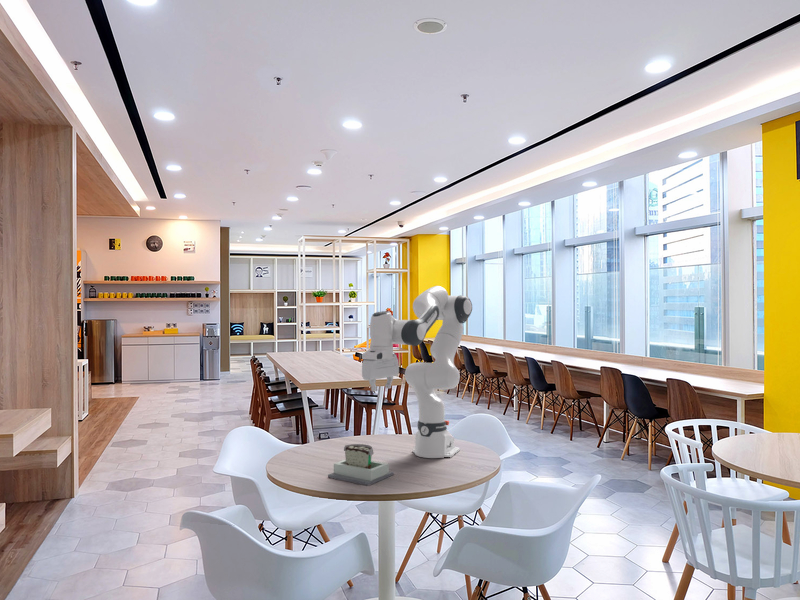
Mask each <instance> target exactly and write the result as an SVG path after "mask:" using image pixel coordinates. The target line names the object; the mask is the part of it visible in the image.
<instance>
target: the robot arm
mask: <svg viewBox="0 0 800 600" xmlns="http://www.w3.org/2000/svg"><path fill="white" fill-rule="evenodd" d="M412 309H413V312H414V315H415V316H416V317H417V319H398V318H395V317H394V316H392V313H391V312H390V311H388V310H387V311H386V310H385V311H376V312H374V313H373V314H371V316H370V325H369V336H370V344H369V348H368V350H366V351H364V352H362V354H361V359H362V363H361V377H362V379H363V380H364V381H369V382H368V383H369V385H370V391H371V392H375V393H376V392H377V391H378V386H377V385H376V383H377V380H380V379H386V383H385V389H391V388H392V383H393V380H394V377H397V376H398V375H399V373H400V367H399V363H400V362H399V358H398V357H397V354H396V352H394V345H404V346H405V345H407V346H412V347H413V346H414V347H416V346H419V345H420V344H422V342H423V341H424V340H425V338H426V335H427V333H428V332H429V331H430V329H431V328H432V327H433V325H435V323H436V322H437V321H442V325H441V326H440V328H439V329H438V331H437V333H436V335H435V337H434V339H433V342H432V344H431V346H430V348H429V349H430V353H431V356H432V357H433V358H434V359H435V360H434V362H424V361H423V362H421V361H419V362H418V361H417V362H413V363H410V364H409V365H408V366H407V367H406V369H405V371H404V378H405V381H406V382H407V385H409V386H410V388H412V390H413V392H414V395H415V396H416V400H417V406H418V421H417V431H416V433H415V438H414V448H412V453H413V454H414V455H415V456H417V457H420V458H424V459H441V458H443V459H444V457H450V458H452V457H454V456H455V455H456V454H457V453H459V451H461V449H460V447H458V446H456V445H455V436H453V435H452V434H451V433H450V432H449V430H448V429H447V426H449V425H450V421H449V420H445V415H446V414H445V410H446V409H445V408H446V407H445V402H444V400H443V399H441V398H440V397H439V396H438V395H437V393H436V391H435V390H441V391H445V390H451V389H452V390H453V389H455V388H457V386H458V384H459V383H460V378H461V375H460V371H459V369H458V368H457V367H456V365H455V356H456V353H457V350H458V347H459V346H460V343H461V340H462V337H463V334H464V333H463V332H464V326H463V324H465V323H466V322H467V320H468V319H469V317H470V316H471V314H472V310H473V304H472V301H471V299H470V298H469V296H466V295H463V294H462V295H460V294H459V295H449V293H448V291H447V290H446V289H445V288H444V287H442V286H440V285H435V286H432V287H429V288H428V289H426V290H425V291H423V292H422V293H420V294H419V295H417V297H416V298H415V299H414V300H413V302H412ZM455 453H456V454H455ZM454 454H455V455H454Z"/></svg>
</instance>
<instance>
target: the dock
mask: <svg viewBox="0 0 800 600" xmlns="http://www.w3.org/2000/svg"><path fill="white" fill-rule="evenodd" d="M389 466H390V465H389V463H386V462H381V461H375V460H371V468H370V469H367V468H361V467H356V466H351V465H346V459H343V460H340V461H337V462H335V463H333V472H332V473H329V474H327V477H328V478H329V477H330V479H333V478H334V479H335V480H339V481H344V482H349V483H353V484H357V485H363V486H366V485H367V486H366V487H369V486H371V485H373V484H376V483H378V482H380V481H383V480H385V479H386V478H389V476H390V477H391V476H393V475H394V471H390V469H389Z"/></svg>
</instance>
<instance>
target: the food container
mask: <svg viewBox="0 0 800 600" xmlns="http://www.w3.org/2000/svg"><path fill="white" fill-rule="evenodd" d="M343 452H344V453H345V455H344V456H345V460H346V465H351V466H356V467H361V468H367V469H370V468H371V461H372V457H373V456H372V455H374V452H375V451H374V448H373V446H371V445H369V444H363V443H353V444H352V443H350V444H346V445H344V448H343Z"/></svg>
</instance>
